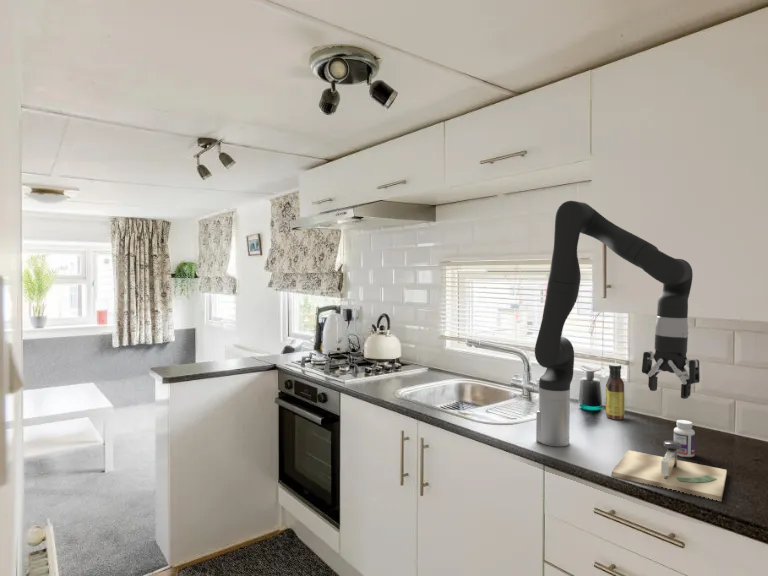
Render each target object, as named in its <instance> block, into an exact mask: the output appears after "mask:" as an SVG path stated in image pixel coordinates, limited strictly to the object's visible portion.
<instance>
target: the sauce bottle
mask: <svg viewBox="0 0 768 576" xmlns="http://www.w3.org/2000/svg"><path fill="white" fill-rule="evenodd" d="M608 368H609V375H608V379H607V381H606V384H605V415H606V417H607V418H608V419H610V420H617V421H618V420H623V419H624V418H625V413H626V412H625V408H626V407H625V399H626V398H625V383H624V381H623V379H622V375H621V370H622V365H621V364H619V363H609V365H608Z"/></svg>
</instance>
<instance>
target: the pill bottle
mask: <svg viewBox="0 0 768 576" xmlns="http://www.w3.org/2000/svg"><path fill="white" fill-rule="evenodd" d="M673 441H675V442H678V443H680V444H681V449H677V456H679V457H683V458H693V457H695V452H696V443H695V442H696V431H695V430H694V429H693V422H692V421H691V420H685V419H678V420H676V427H674V428H673Z"/></svg>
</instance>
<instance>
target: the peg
mask: <svg viewBox="0 0 768 576" xmlns="http://www.w3.org/2000/svg"><path fill="white" fill-rule="evenodd" d="M663 447H664V448H666V452H665V454H664V456H663V457H664V458H663V459H662V461H661V475H664V476H669V474H670V472H671V470H672V468H673V467H676V466H677V460H678V455H677V449H681V444H680V443H678V442H675V441H674V440H664V441H663Z"/></svg>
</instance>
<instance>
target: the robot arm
mask: <svg viewBox="0 0 768 576" xmlns="http://www.w3.org/2000/svg"><path fill="white" fill-rule="evenodd" d="M580 234H582V235H586V236H588V237H591V238H594V239H596V240H598V241H600V242H601V243H602V244H604V245H605V246H607V247H608V248H609V250H611V251H612V252H613V253H615V254H616V255H617V256H618V257H620V258H622V259H623V260H625V261H627V262H629V263H630V264H632V265H634V266H636V267H638V268H640V269H641V270H642V271H643V272H645V273H646V274H648V275H649V276H650V277H652V278H653V279H655V280H656V281H657V282H659V283H661V284H662V293H661V295H659V297H658V299H657V308H656V321H655V325H654V326H655V328H654V329H655V331H654V333H655V334H654V350H655V352H653V351H644V352H643V354H642V364H641V373H642V374H645V375H647V377H648V382H647V383H648V389H649V390H650V391H651V392H655V391H657V390H658V375H659V374H660V373H661V372H668V373H671V374H675V376H676V377H677V378H679V380H680V382H681V383H682V384H681V385H680V387H681V388H680V399H683V400H685V399H689V398H690V396H691V392H692V391H691V389H692V385H693V384H699V383H700V381H701V379H700V378H701V377H700V375H701V374H700V360H699V359H689V358H687V353H688V341H689V340H688V339H689V338H688V337H689V321H688V315H689V314H688V313H689V297H690V294H691V293H690V292H691V289H692V283H693V274H694V273H693V269H692V266H691V264H690V263H689V262H688V261H687V260H684V259H683V258H674V257H672V256H670V255H668V254H666V253H665V252H662V251H661V250H659V248H658V247H657V246H656V245H654V244H653V243H651V242H649V241H647V240H645V239H643V238H641V237H640V236H638V235H635V234H633V233H631V232H629V231H628V230H626V229H624V228H622V227H620V226H618V225H616V224H615V223H613V222H611V221H610V220H608V219H607V218H606V217H604V216H603V215H602V214H601V213H599V212H598V211H597V210H596V209H594V208H593V207H592V206H590V205H589V204H588V203H586V202H581V201H576V200H567V201H565V202H563V203H562V204H561V205H560V206H559V207H558V208H557V210H556V212H555V216H554V230H553V247H552V254H551V260H550V269H549V274H548V279H547V285H546V286H547V287H546V294H545V301H544V306H543V312H542V316H541V317H542V318H541V322H540V327H539V331H538V334H537V338H536V341H535V346H534V357H535V360H536V362H537V363H538V365H540V366H541V367H543V368H545V372H544V373H543V374H542V376H540V378H539V380H538V381H539V382H538V383H539V384H538V385H539V387H538V410H536V420H535V421H536V430H535V431H536V433H535V441H536V442H539V443H541V444H542V445H546V446H550V447H567V446H569V445H570V429H571V428H570V417H571V413H570V412H571V383H572V382H573V378H574V367H575V350H574V347H573V343H572V342H571V341H570V340H569V339H568V338H567V337H566V336H565V337H564V336H562V335H563V329H564V326H565V323H566V321H567V319H568V317H569V316H570V313H572V311H573V309H574V307H575V305H576V302H577V300H578V297H579V291H580V287H581V285H580V284H581V268H580V263H579V257H578V246H579V245H578V244H579V239H580ZM654 360H655V362H656V363H655V364H654V365H653V361H654ZM685 366H687V368H688V370H687V368H686V367H685Z"/></svg>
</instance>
